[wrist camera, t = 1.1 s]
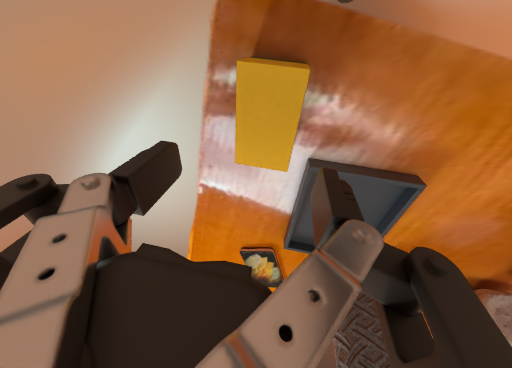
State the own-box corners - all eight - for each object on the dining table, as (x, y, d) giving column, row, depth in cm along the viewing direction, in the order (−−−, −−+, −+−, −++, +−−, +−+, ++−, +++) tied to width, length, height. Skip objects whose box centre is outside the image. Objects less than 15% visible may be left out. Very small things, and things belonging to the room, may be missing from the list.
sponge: (251, 56, 18) (236, 60, 14) (307, 63, 18) (310, 69, 13) (246, 141, 24) (234, 163, 19) (289, 148, 23) (287, 172, 19)
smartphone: (256, 286, 46) (238, 251, 37) (257, 283, 46) (239, 248, 38) (285, 288, 44) (273, 251, 35) (285, 285, 44) (273, 248, 36)
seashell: (483, 324, 39) (530, 394, 31) (408, 309, 41) (434, 372, 33) (561, 291, 29) (657, 381, 22) (458, 273, 31) (513, 350, 23)
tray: (308, 158, 23) (309, 166, 22) (418, 175, 22) (427, 185, 21) (284, 239, 34) (283, 248, 32) (357, 254, 33) (360, 264, 31)
